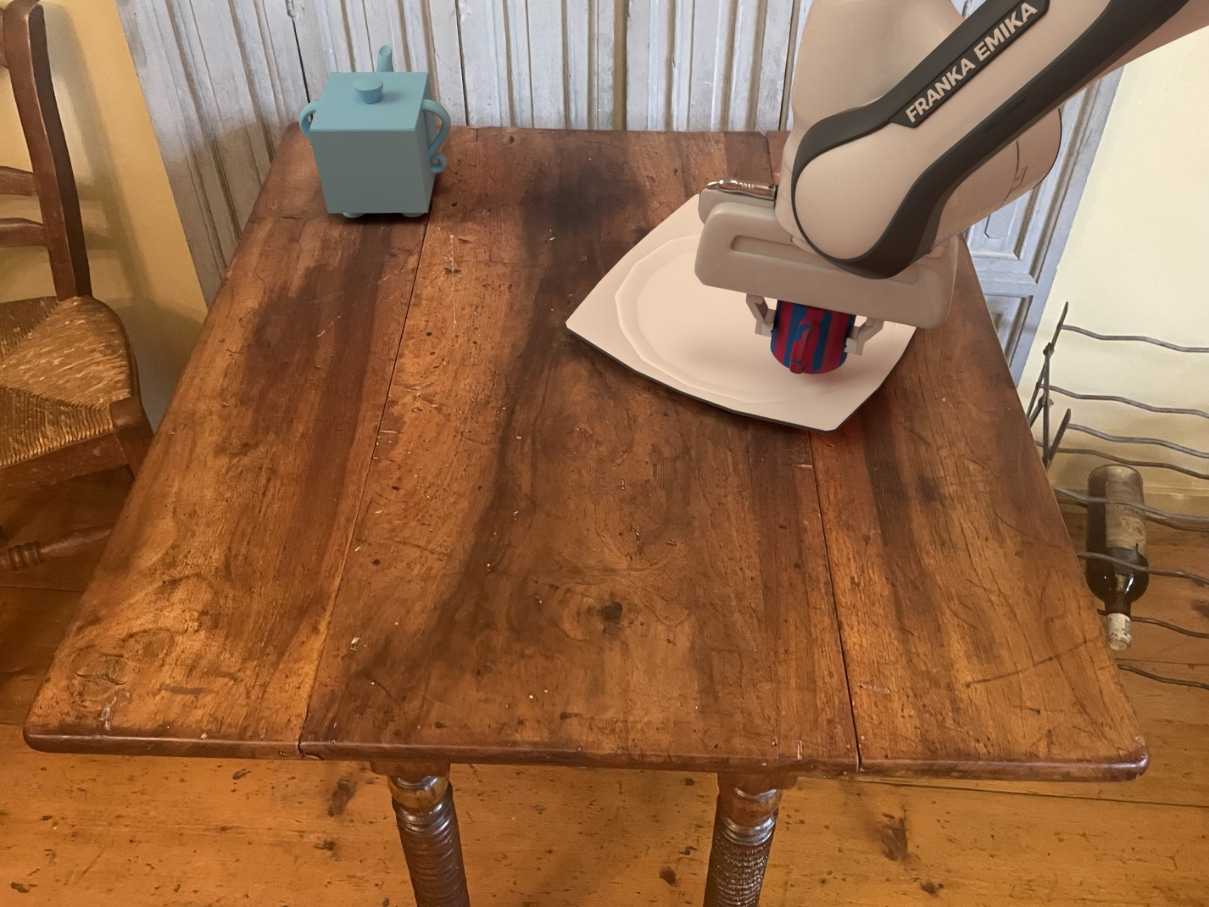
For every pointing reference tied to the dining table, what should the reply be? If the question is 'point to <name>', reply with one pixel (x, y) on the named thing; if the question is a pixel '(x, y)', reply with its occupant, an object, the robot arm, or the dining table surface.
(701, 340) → the plate
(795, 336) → the mug
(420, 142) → the teapot
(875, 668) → the dining table surface
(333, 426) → the dining table surface
